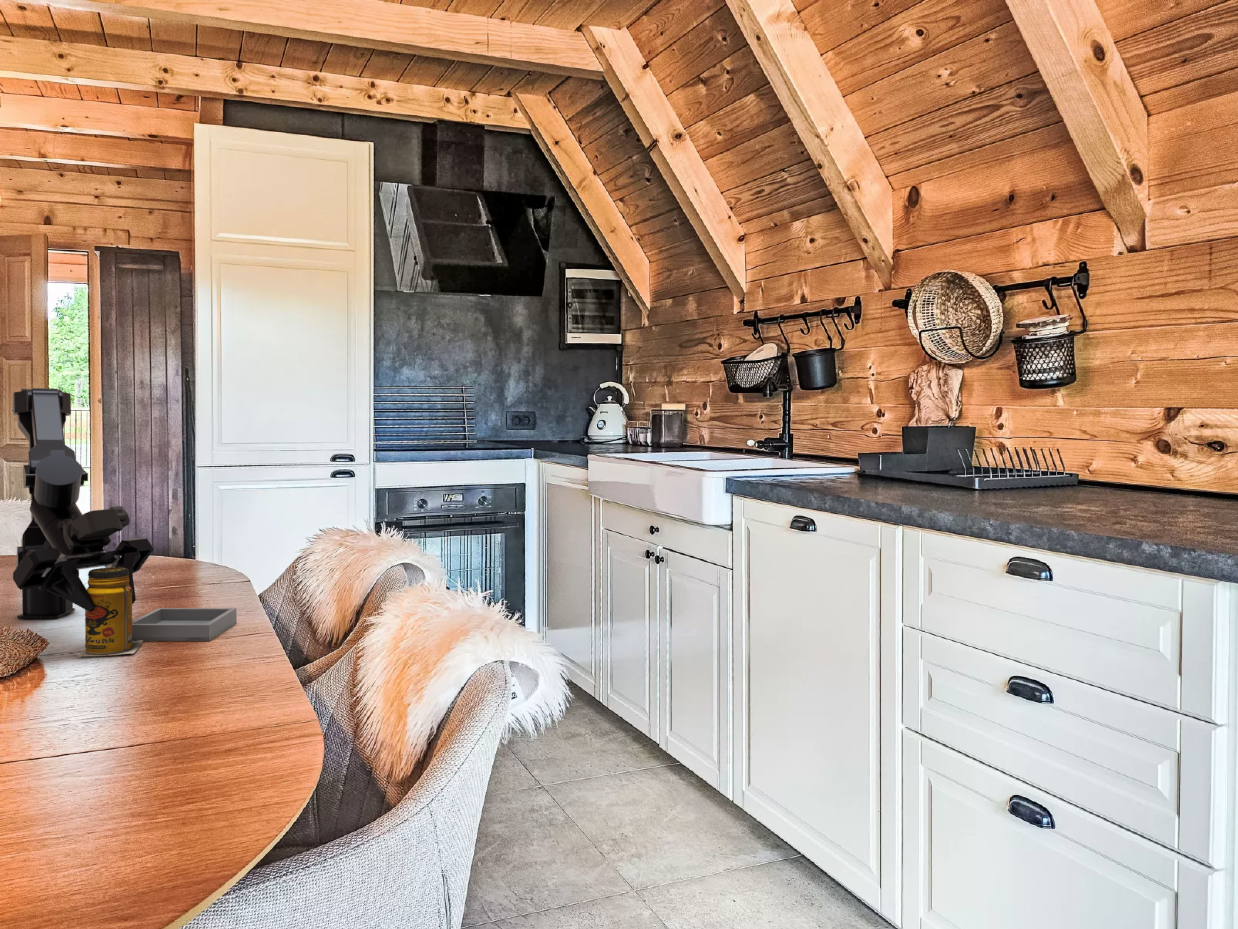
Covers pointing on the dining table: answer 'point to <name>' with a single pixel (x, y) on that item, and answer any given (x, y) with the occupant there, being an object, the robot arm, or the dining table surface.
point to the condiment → (109, 614)
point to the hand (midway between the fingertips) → (113, 606)
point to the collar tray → (183, 624)
